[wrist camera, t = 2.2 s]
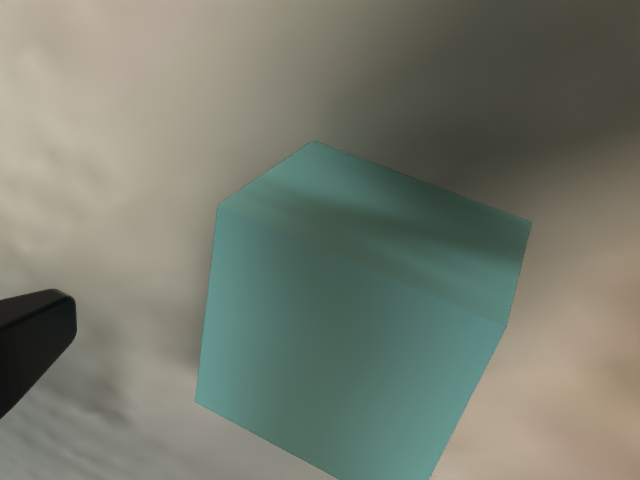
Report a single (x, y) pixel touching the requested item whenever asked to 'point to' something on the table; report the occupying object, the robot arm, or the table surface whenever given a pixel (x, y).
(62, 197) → the table surface
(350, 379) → the teal cube
